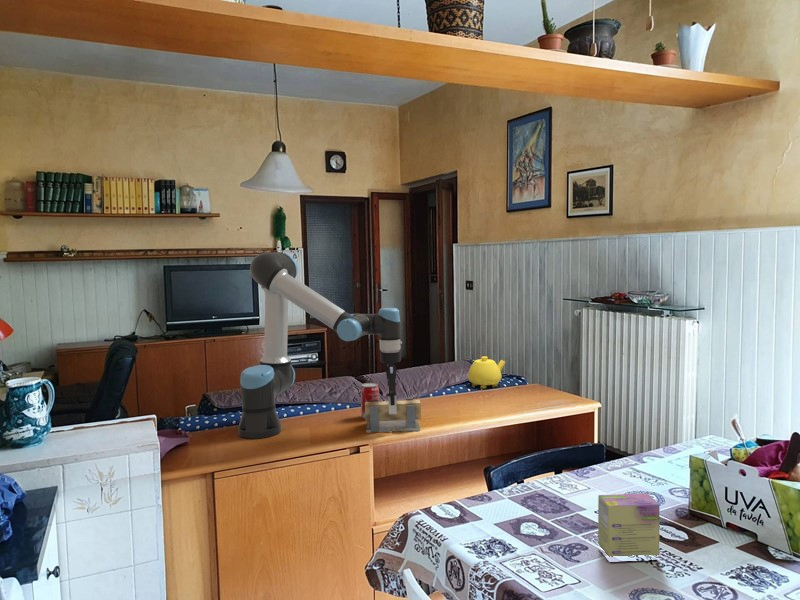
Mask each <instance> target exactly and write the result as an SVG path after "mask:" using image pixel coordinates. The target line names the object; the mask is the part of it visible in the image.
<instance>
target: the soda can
mask: <svg viewBox="0 0 800 600" xmlns="http://www.w3.org/2000/svg"><path fill="white" fill-rule="evenodd" d="M370 399H378V402H380V388H379V385H378V383H377V382H366V383H362V384H361V387H360V408H361V409H360V410H361V413H360V414H361V418H363V419H364V420H365V402H370Z"/></svg>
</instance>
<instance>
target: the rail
mask: <svg viewBox="0 0 800 600" xmlns="http://www.w3.org/2000/svg"><path fill="white" fill-rule="evenodd" d="M406 405H415V419H416V420H418V421H419V420H422V411H421V410H422V409H421V406H422V405H421V400H420V399H413V400H405V399H404V400H396V408H397V414H389V401H388V400H387V401H386V400H385V401H381V400H380V401H379V402H365V419H364V421H365V423H367V422H370V406H378V410H379V421H394V420H407V408H406Z"/></svg>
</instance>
